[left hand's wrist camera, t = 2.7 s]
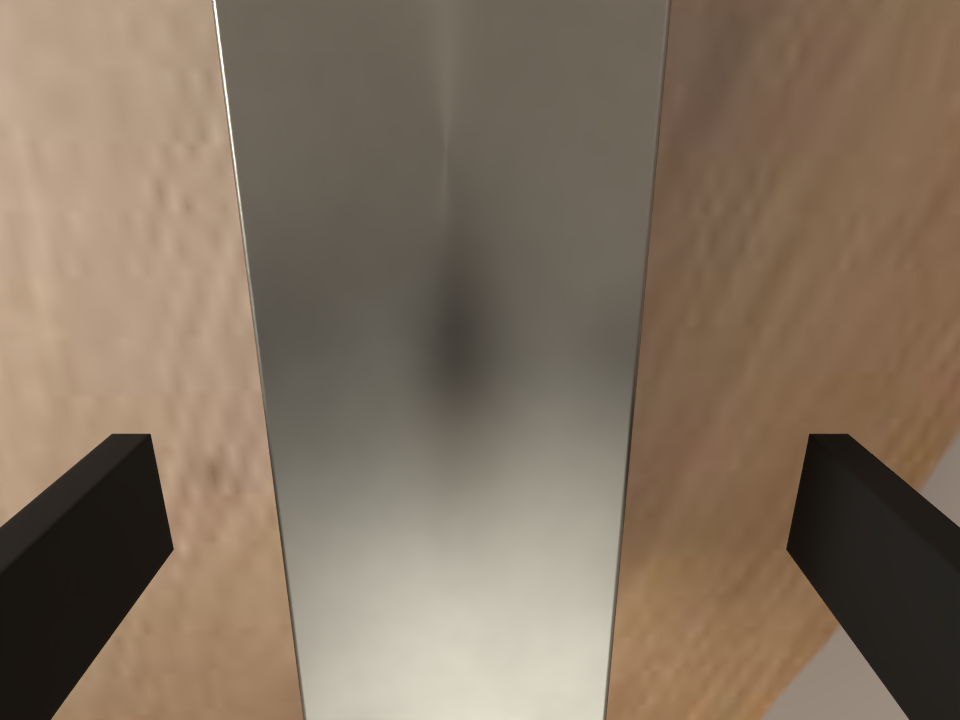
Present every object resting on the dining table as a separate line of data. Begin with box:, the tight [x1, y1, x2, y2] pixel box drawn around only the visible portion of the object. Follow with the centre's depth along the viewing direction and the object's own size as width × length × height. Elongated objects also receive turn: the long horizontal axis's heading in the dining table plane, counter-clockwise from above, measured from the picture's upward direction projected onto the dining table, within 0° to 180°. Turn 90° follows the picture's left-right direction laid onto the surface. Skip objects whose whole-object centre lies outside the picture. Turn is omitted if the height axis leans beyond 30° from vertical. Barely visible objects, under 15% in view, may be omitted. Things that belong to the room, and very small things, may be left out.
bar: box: [212, 0, 671, 720], centre depth 12 cm, size 21×6×8 cm, turn 0°
